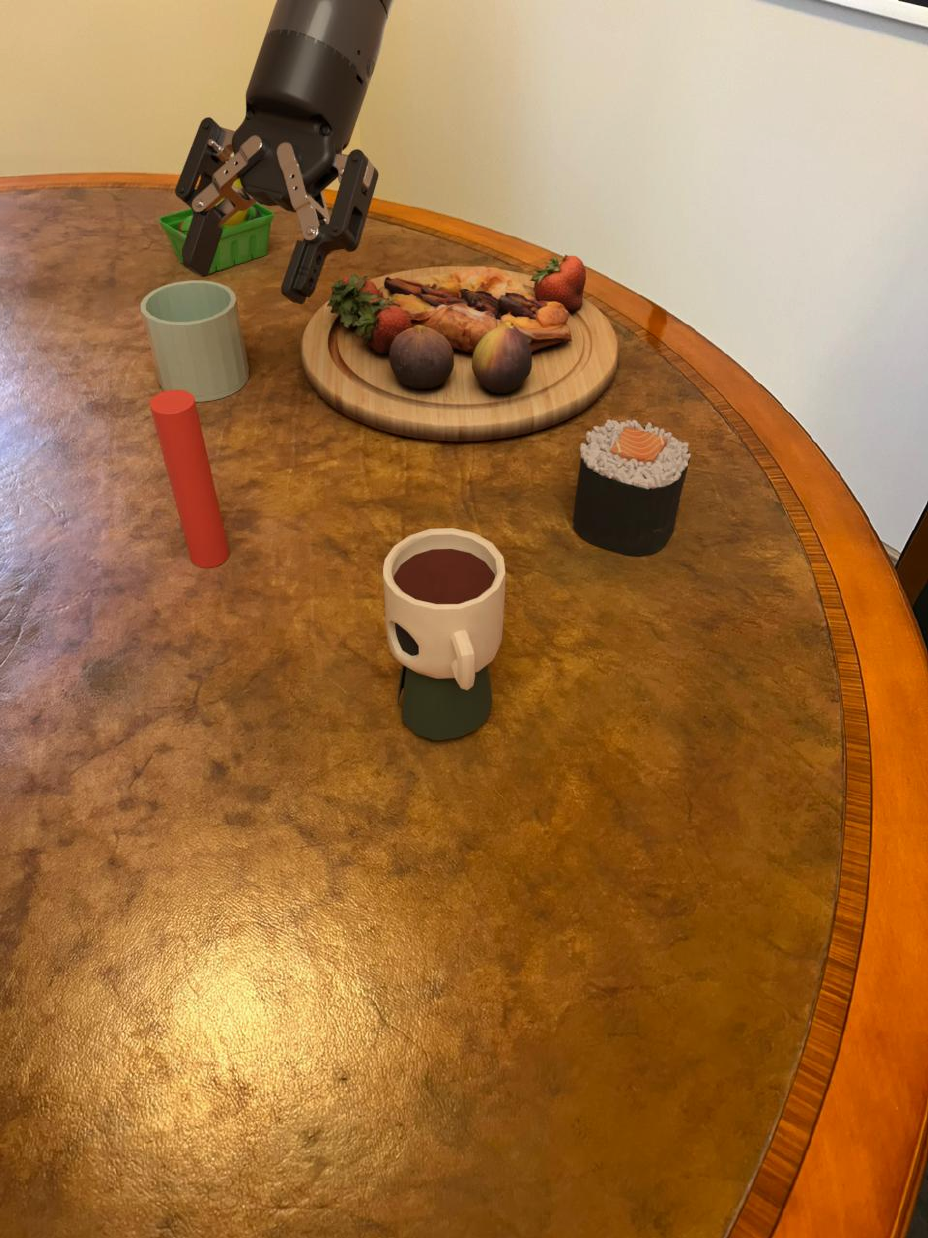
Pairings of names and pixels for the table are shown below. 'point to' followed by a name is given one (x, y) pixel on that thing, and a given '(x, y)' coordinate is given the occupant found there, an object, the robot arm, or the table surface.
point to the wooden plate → (461, 350)
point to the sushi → (629, 487)
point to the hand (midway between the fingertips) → (242, 285)
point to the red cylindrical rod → (190, 476)
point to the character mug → (444, 627)
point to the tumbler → (196, 338)
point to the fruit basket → (226, 234)
